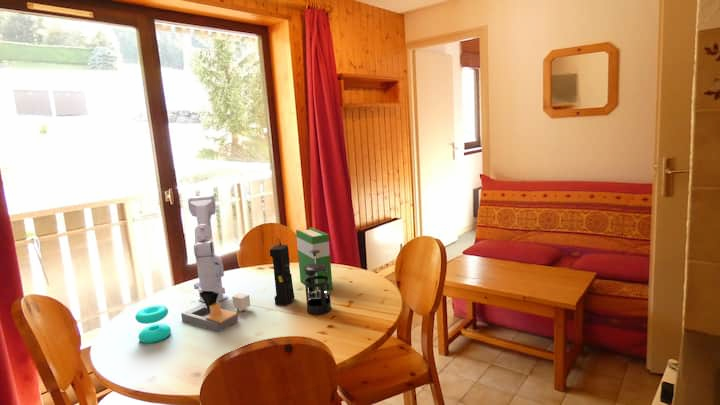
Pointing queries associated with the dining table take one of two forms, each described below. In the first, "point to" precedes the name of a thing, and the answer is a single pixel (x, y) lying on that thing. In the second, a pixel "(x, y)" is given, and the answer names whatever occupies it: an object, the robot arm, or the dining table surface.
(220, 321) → the shutter
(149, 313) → the cyan discs
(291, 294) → the portable radio
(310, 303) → the french press
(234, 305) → the beige rectangular block
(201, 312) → the grey recessed box
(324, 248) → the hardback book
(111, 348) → the dining table surface
